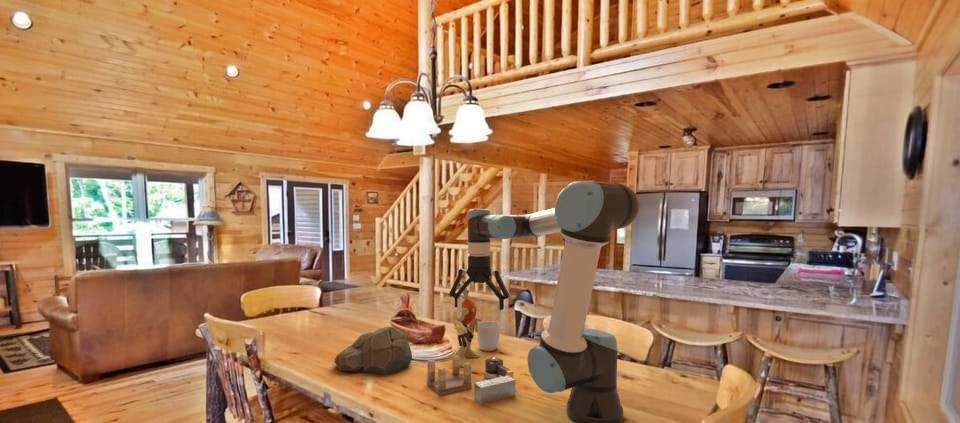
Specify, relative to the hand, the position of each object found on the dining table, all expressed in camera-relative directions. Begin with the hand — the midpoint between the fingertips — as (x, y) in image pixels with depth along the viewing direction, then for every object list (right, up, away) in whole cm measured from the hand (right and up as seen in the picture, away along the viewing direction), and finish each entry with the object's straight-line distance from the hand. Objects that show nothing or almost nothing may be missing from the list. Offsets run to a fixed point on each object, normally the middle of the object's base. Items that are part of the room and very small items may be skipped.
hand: (479, 318), depth 140 cm
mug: (+4, -20, +33) cm, 39 cm away
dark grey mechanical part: (+7, -18, -1) cm, 19 cm away
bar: (+5, -21, -14) cm, 25 cm away
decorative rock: (-37, -20, +13) cm, 44 cm away
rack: (-10, -20, -6) cm, 23 cm away
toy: (-5, -20, +14) cm, 25 cm away
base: (+5, -20, +2) cm, 21 cm away
